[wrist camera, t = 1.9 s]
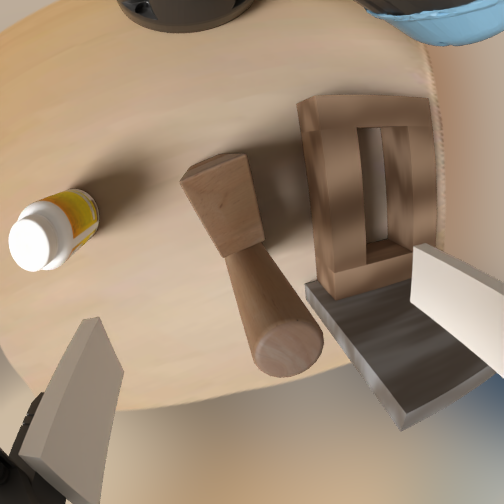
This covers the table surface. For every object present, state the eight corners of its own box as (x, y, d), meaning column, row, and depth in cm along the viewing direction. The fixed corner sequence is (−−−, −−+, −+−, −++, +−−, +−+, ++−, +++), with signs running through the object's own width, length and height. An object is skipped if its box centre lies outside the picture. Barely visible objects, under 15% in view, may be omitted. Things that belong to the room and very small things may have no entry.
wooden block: (223, 152, 27) (263, 150, 11) (263, 252, 31) (335, 362, 14) (186, 168, 27) (168, 190, 10) (229, 266, 31) (269, 392, 14)
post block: (281, 105, 27) (418, 44, 8) (410, 102, 29) (557, 96, 10) (306, 299, 34) (400, 431, 15) (416, 267, 36) (530, 344, 17)
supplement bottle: (61, 180, 25) (7, 196, 16) (108, 199, 27) (67, 222, 17) (48, 231, 26) (-3, 265, 17) (92, 250, 28) (52, 293, 18)
